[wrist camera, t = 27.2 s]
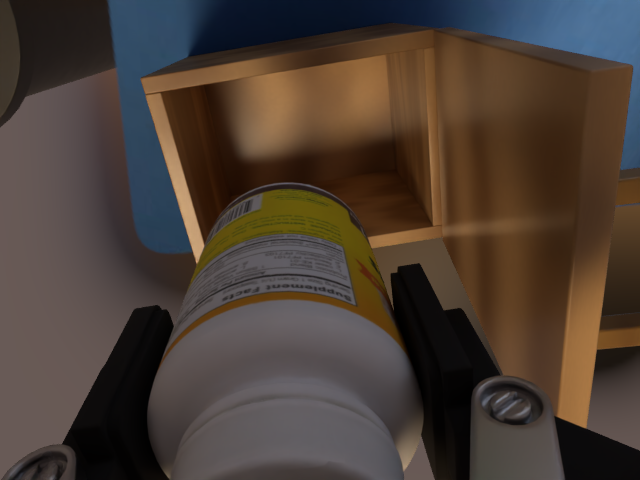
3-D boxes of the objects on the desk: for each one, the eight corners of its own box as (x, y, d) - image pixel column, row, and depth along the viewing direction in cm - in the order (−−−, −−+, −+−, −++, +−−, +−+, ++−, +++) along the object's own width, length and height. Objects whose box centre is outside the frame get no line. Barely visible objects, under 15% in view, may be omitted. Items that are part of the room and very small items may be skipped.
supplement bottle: (353, 325, 18) (417, 650, 9) (204, 311, 17) (106, 645, 8) (383, 186, 16) (513, 432, 7) (212, 164, 15) (89, 402, 6)
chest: (225, 203, 39) (199, 276, 28) (187, 56, 34) (139, 77, 23) (404, 174, 38) (447, 236, 28) (392, 22, 33) (439, 27, 23)
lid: (551, 482, 14) (756, 468, 13) (588, 71, 9) (919, 22, 8) (442, 240, 27) (540, 229, 27) (433, 29, 22) (552, 10, 22)
